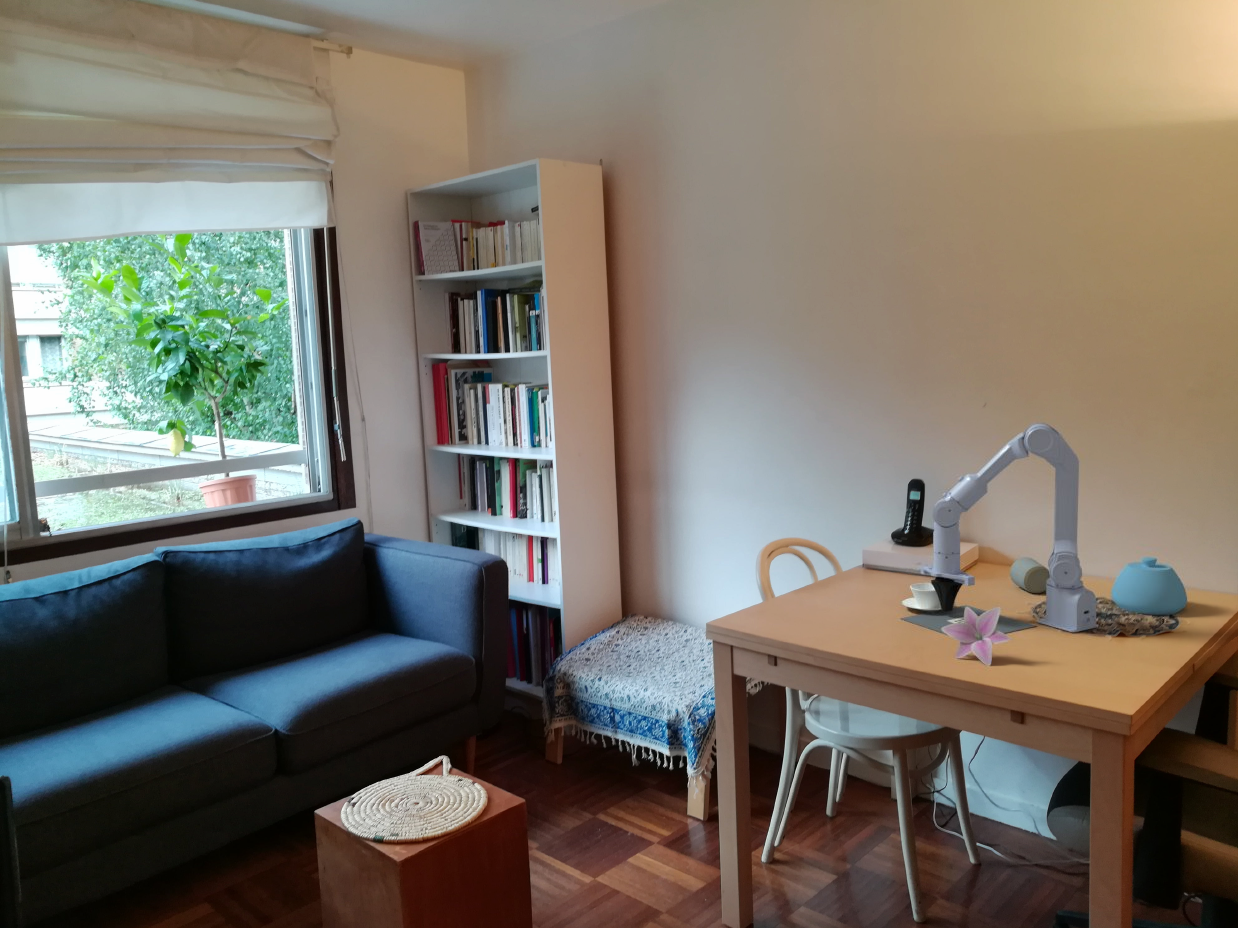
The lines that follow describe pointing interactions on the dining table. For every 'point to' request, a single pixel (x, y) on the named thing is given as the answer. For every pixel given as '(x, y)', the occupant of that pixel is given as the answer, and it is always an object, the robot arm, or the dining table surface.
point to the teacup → (923, 598)
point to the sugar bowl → (1149, 588)
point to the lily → (977, 634)
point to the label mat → (957, 615)
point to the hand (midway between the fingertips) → (947, 610)
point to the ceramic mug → (1029, 575)
